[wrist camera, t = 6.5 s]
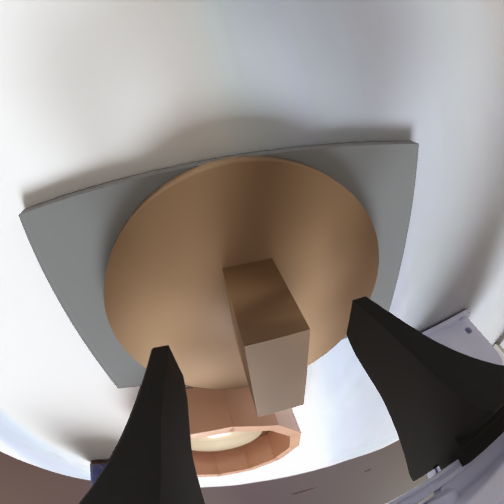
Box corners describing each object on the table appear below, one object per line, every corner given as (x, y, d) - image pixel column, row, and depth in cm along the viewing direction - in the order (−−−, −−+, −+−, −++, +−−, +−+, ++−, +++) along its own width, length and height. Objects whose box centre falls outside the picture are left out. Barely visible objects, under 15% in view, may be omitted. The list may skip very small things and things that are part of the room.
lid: (379, 142, 11) (466, 181, 7) (351, 343, 18) (386, 400, 14) (64, 196, 9) (6, 271, 5) (158, 390, 16) (164, 461, 12)
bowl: (286, 366, 19) (303, 408, 16) (286, 429, 25) (297, 458, 22) (118, 397, 17) (117, 440, 14) (170, 451, 23) (174, 481, 20)
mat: (410, 140, 12) (418, 143, 11) (380, 318, 18) (384, 323, 18) (24, 209, 9) (18, 215, 9) (118, 380, 16) (118, 388, 15)
